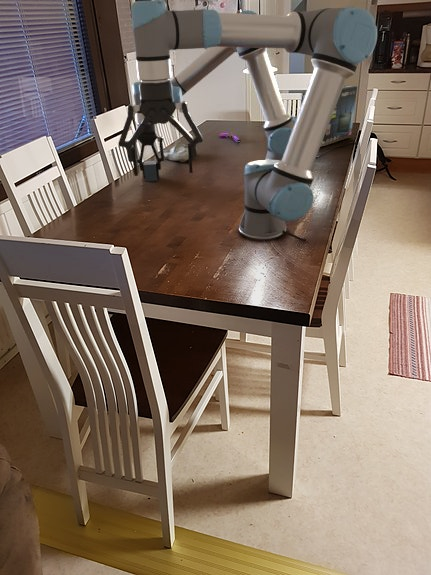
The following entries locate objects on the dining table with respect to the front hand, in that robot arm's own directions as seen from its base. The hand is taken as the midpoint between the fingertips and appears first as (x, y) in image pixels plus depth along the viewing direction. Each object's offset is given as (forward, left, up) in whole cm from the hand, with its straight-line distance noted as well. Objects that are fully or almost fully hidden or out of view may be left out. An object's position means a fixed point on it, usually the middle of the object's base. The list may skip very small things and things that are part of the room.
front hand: (163, 172), depth 115 cm
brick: (+56, -65, -28) cm, 91 cm away
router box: (+7, -153, -28) cm, 156 cm away
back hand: (+56, -65, -27) cm, 90 cm away
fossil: (+64, -98, -28) cm, 120 cm away
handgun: (+59, -142, -28) cm, 156 cm away
